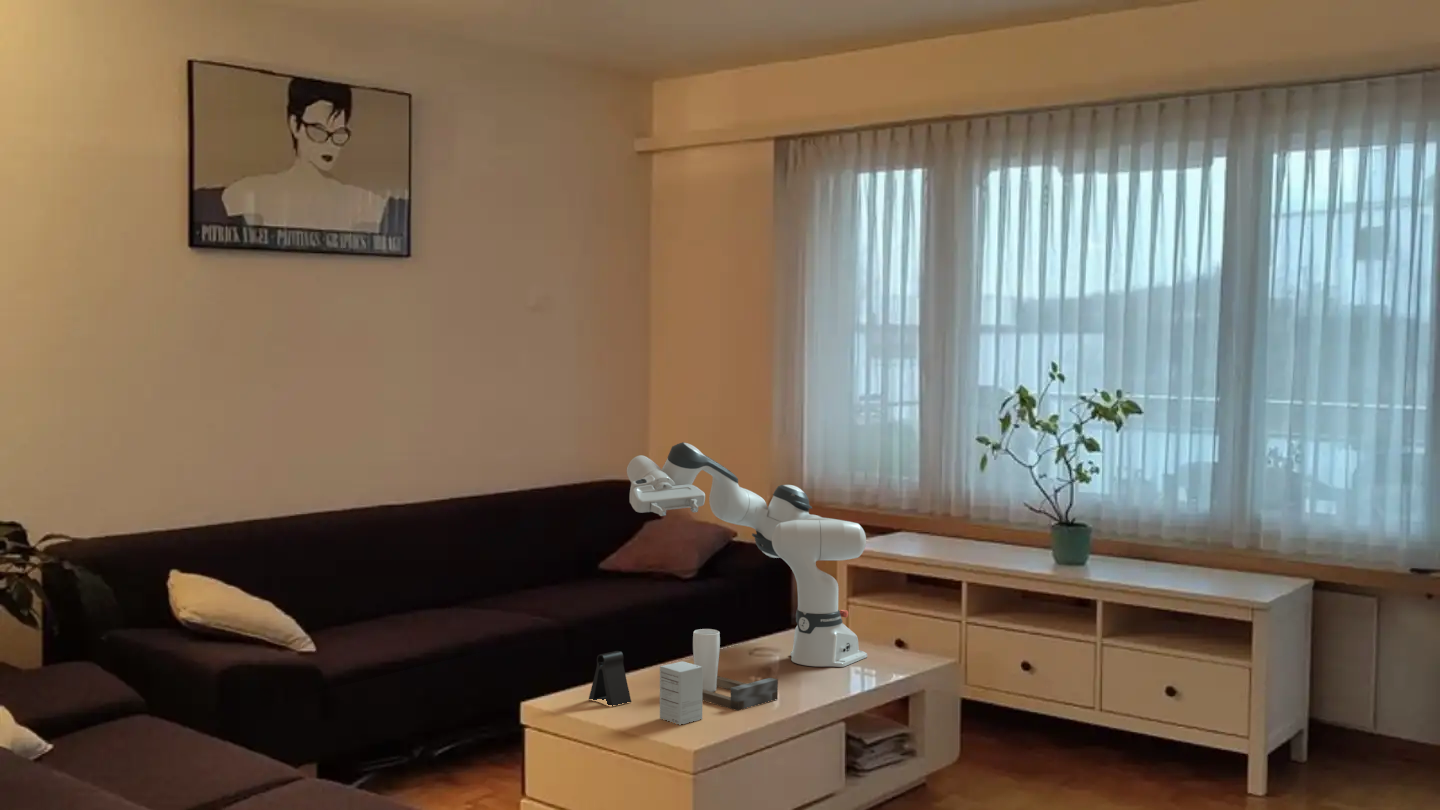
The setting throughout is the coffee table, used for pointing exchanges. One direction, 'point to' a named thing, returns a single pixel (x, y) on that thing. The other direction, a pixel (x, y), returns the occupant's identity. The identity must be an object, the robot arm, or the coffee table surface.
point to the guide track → (743, 693)
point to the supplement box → (681, 692)
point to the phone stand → (610, 679)
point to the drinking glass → (707, 656)
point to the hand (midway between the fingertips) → (679, 511)
